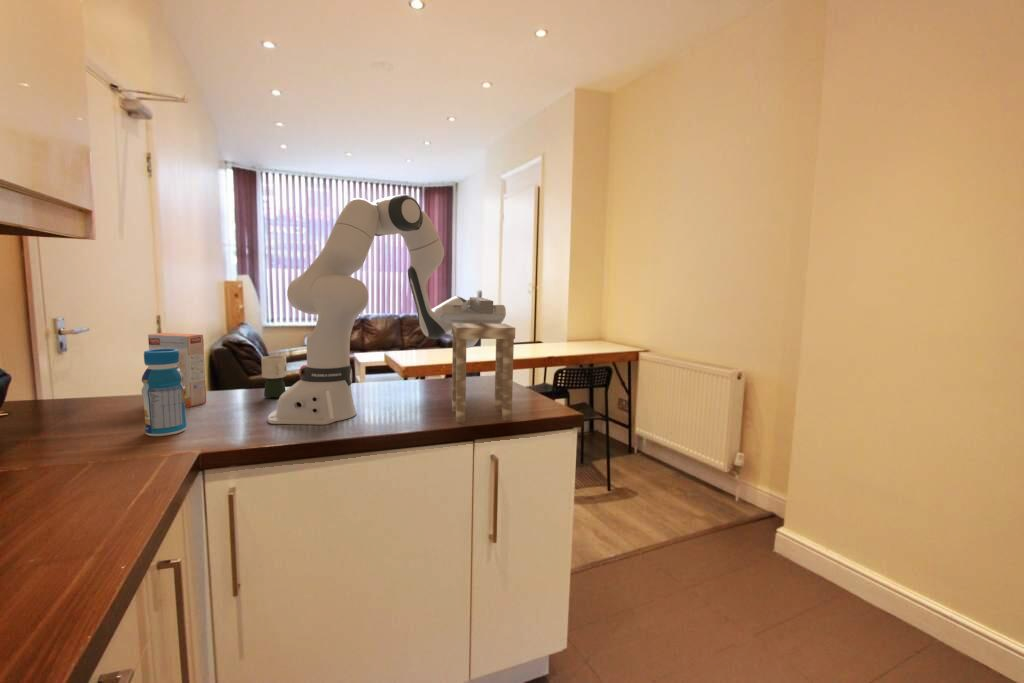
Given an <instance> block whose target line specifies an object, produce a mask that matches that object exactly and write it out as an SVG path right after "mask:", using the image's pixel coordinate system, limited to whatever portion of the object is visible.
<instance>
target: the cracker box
mask: <svg viewBox="0 0 1024 683" xmlns="http://www.w3.org/2000/svg"><path fill="white" fill-rule="evenodd" d="M147 336H148V337H147V338H148V339H147V340H148V350H154V349H177V350H178V352H179V363H178V364H176V366H177V367H178V368H179V369H180V370H181V371H182V373H183V375H184V379H183V384H184V385H185V392H184V399H185V408H186V407H187V408H191V407H195V406H198V405H199V406H200V405H203V404H206V403H207V390H206V388H207V387H206V368H205V349H204V348H205V347H204V346H205V345H204V344H205V343H204V335H203V334H194V333H193V334H192V333H177V332H175V333H174V332H172V333H171V332H160V333H150V334H148V335H147Z"/></svg>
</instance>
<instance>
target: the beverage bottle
mask: <svg viewBox="0 0 1024 683" xmlns="http://www.w3.org/2000/svg"><path fill="white" fill-rule="evenodd" d="M143 362H144V365H145V366H147V367H146V369H145V371H144V372H143V374H142V377H141V382H142V383H143V386H142V388H141V395H142V398H143V399H142V400H143V412H144V424H145V425H144V432H145V434H146V435H147V436H149V437H150V436H151V437H164V436H165V437H167V436H171V435H176V434H180V433H182V432H184V431H185V430H186V429H187V421H186V407H185V399H184V392H185V385H184V384H183V379H184V375H183V373H182V371H181V370H180V369H179V368H178V367H177V366H176V364H178V363H179V352H178V350H177V349H154V350H149V349H148V350H145V351H144V352H143Z"/></svg>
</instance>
